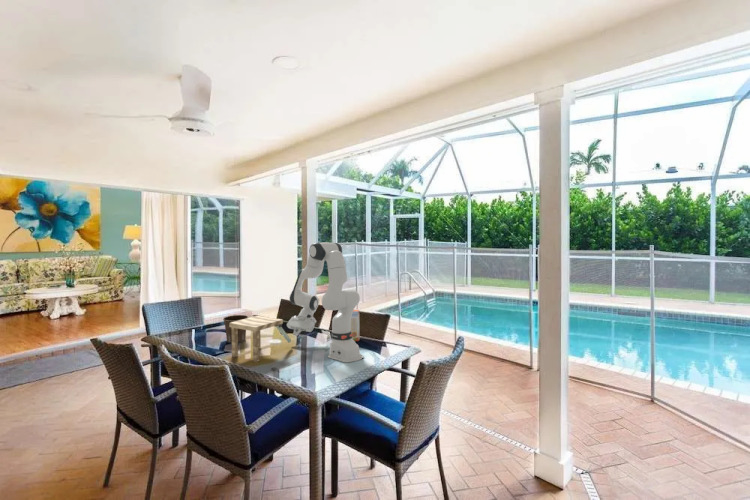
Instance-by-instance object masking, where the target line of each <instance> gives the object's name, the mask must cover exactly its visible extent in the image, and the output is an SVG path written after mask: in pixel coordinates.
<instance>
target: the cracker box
mask: <svg viewBox="0 0 750 500" xmlns="http://www.w3.org/2000/svg"><path fill="white" fill-rule="evenodd" d="M360 327H361V326H360V310H359V309H354V310H353V313H352V316H351V323H350V331H351V333H352V334H353V335H352V339H353V340H354V341H355V342H359V341H360V334H361V333H360V329H361V328H360Z"/></svg>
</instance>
